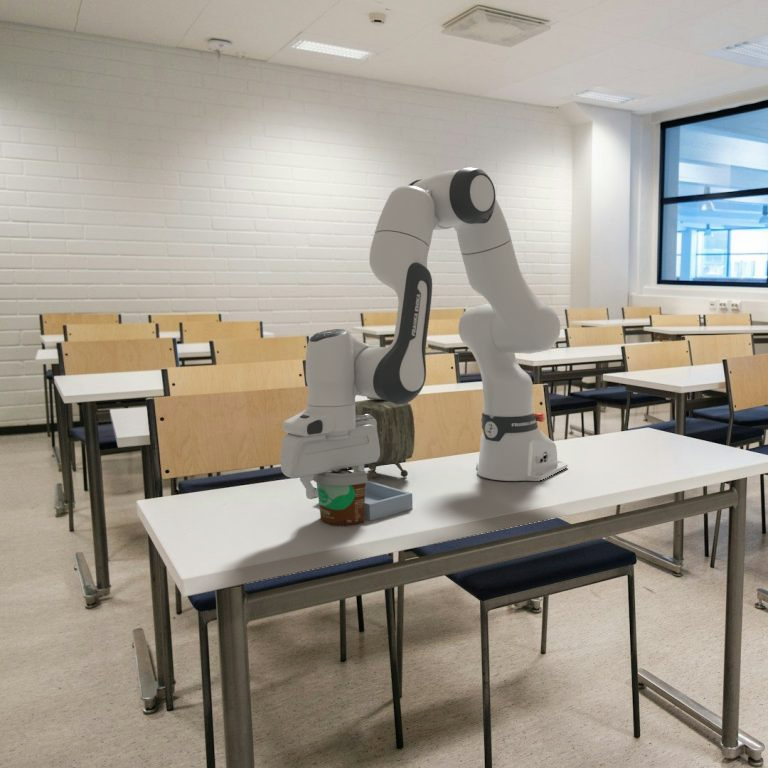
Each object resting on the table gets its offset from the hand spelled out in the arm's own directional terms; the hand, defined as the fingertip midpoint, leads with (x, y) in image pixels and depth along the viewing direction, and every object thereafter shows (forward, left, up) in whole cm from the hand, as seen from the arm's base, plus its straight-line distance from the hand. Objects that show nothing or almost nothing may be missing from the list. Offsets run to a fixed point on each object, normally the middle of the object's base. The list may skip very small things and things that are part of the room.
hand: (333, 493), depth 128 cm
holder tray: (-10, -4, -5) cm, 12 cm away
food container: (0, 0, -6) cm, 6 cm away
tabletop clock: (-27, -20, -6) cm, 34 cm away
